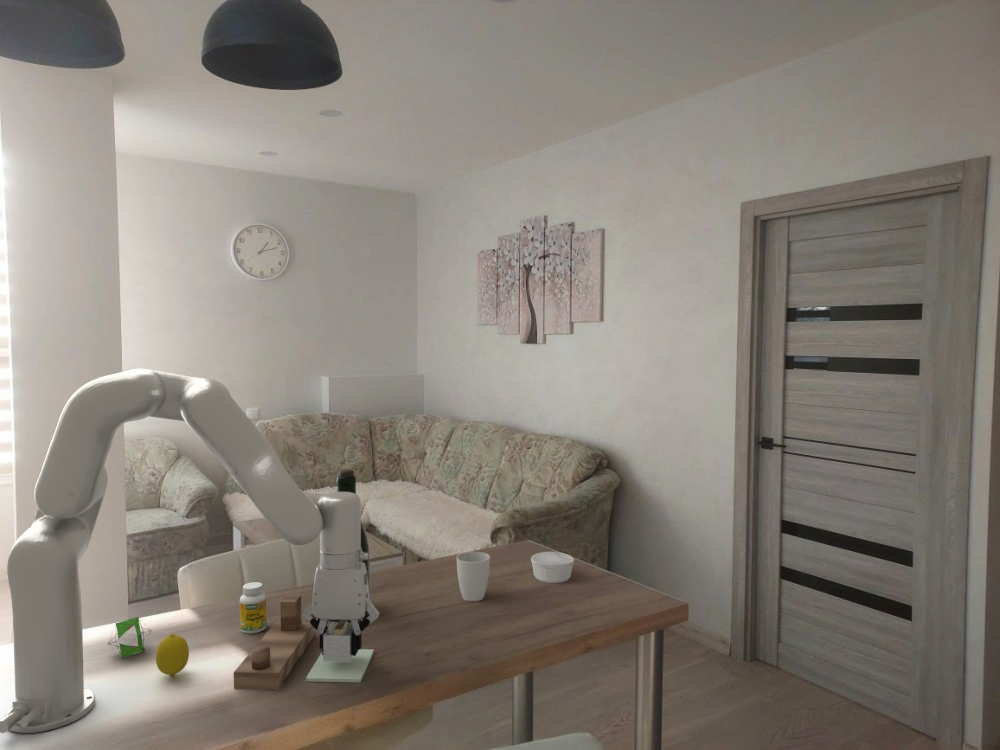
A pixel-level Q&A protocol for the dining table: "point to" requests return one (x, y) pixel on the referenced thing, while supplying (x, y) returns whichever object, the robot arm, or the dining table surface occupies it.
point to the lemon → (172, 654)
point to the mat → (341, 668)
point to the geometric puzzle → (129, 637)
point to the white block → (338, 642)
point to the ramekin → (552, 566)
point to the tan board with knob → (276, 650)
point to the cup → (473, 574)
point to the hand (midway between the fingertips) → (340, 651)
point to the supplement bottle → (253, 608)
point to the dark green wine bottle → (348, 484)
